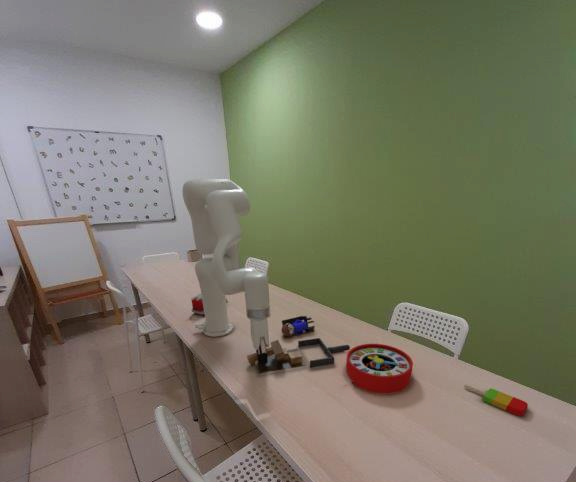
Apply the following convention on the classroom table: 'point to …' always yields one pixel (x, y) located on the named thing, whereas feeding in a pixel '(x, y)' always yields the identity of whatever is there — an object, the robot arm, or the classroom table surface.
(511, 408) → the popsicle
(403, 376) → the toy clock
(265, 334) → the robot arm
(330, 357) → the dustpan
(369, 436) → the classroom table surface
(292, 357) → the cork chip
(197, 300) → the toy fire truck
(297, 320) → the character figurine
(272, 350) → the brush
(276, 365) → the tray
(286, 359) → the cork chip
